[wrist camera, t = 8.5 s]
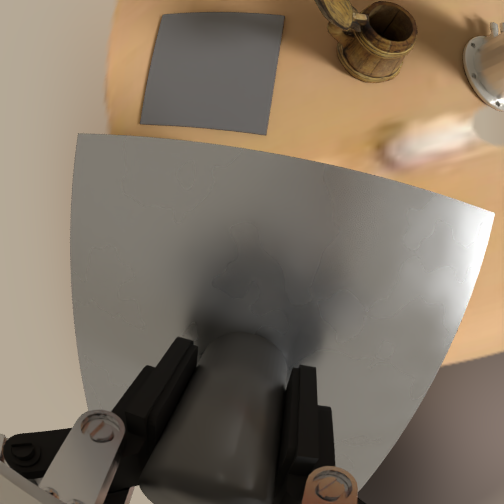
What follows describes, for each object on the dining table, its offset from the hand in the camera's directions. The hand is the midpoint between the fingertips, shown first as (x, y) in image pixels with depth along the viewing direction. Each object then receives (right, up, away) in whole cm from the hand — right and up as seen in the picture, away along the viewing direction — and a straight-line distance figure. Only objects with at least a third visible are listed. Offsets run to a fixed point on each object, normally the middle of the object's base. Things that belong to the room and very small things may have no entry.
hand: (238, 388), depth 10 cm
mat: (-5, +30, +27) cm, 41 cm away
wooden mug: (+14, +31, +24) cm, 42 cm away
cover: (+2, +3, +11) cm, 11 cm away
